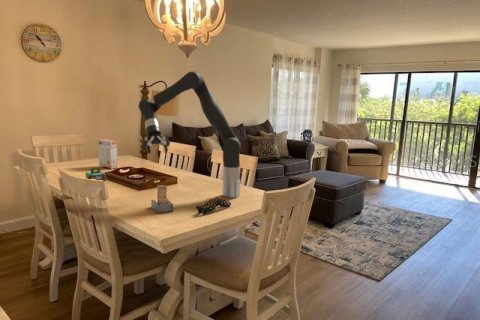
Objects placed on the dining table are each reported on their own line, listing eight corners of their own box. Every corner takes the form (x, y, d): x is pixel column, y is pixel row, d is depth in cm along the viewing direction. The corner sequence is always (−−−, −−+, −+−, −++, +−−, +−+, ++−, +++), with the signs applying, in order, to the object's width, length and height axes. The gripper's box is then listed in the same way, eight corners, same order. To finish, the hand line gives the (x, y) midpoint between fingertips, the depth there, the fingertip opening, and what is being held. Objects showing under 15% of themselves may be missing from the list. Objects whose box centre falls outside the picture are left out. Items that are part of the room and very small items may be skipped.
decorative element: (225, 205, 185) (225, 194, 184) (232, 207, 182) (232, 196, 181) (193, 215, 168) (193, 203, 167) (201, 217, 165) (201, 205, 164)
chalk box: (103, 190, 204) (102, 165, 201) (106, 194, 196) (105, 167, 194) (85, 191, 199) (84, 166, 196) (88, 195, 191) (87, 169, 189)
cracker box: (117, 168, 265) (117, 140, 261) (111, 169, 260) (110, 141, 256) (105, 165, 272) (105, 139, 269) (99, 167, 267) (98, 139, 264)
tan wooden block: (157, 207, 174) (157, 185, 172) (164, 206, 176) (164, 185, 174) (159, 209, 171) (159, 187, 169) (166, 208, 172) (166, 187, 170)
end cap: (151, 206, 176) (151, 199, 176) (167, 205, 180) (167, 198, 179) (156, 213, 167) (156, 206, 166) (173, 211, 170) (173, 204, 170)
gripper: (140, 124, 187) (145, 148, 179) (166, 124, 194) (172, 147, 186) (138, 133, 193) (143, 157, 185) (164, 132, 199) (170, 155, 191)
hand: (158, 152), depth 185 cm, fingers open, 8 cm apart
